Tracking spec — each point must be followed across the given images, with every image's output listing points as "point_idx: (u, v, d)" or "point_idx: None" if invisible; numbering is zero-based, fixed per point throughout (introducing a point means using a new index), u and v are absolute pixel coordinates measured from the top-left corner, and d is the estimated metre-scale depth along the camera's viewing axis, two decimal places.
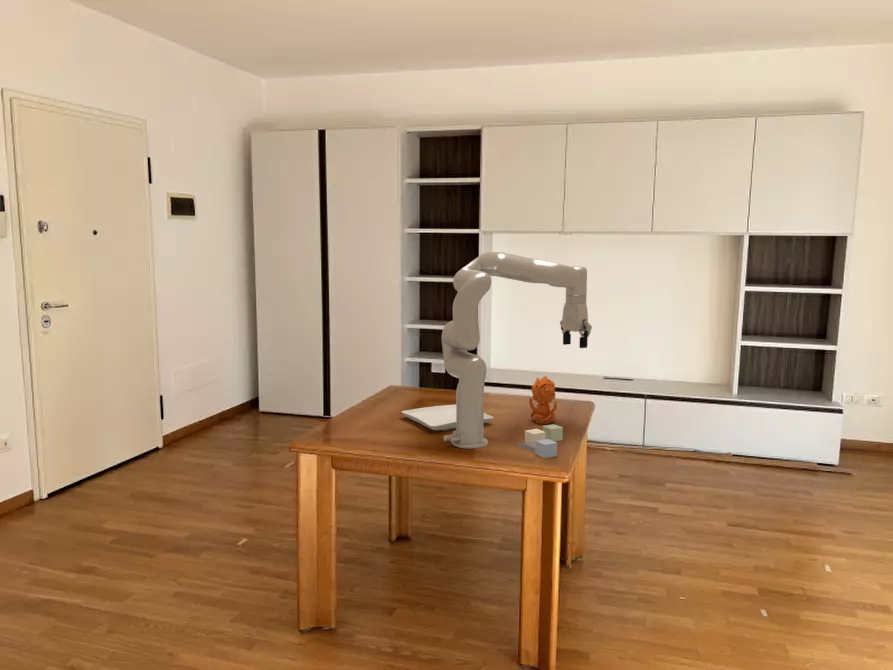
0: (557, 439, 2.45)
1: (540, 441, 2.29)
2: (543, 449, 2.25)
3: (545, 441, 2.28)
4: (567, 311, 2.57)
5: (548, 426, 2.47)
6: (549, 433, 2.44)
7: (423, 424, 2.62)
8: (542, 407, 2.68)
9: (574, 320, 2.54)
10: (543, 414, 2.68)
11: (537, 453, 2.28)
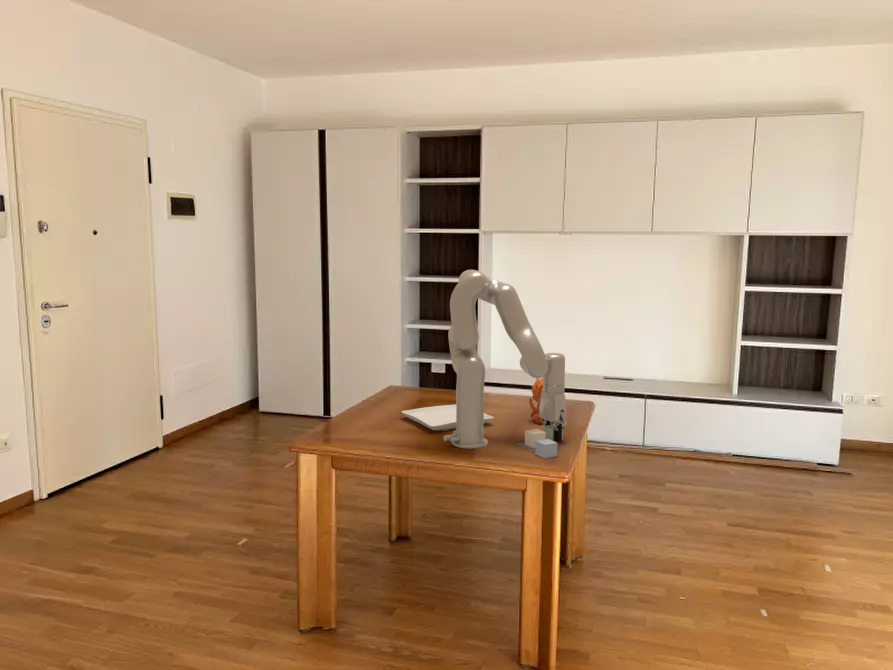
0: None
1: (540, 441, 2.29)
2: (543, 449, 2.25)
3: (545, 441, 2.28)
4: (544, 400, 2.45)
5: (548, 426, 2.47)
6: (549, 433, 2.44)
7: (423, 424, 2.62)
8: None
9: (551, 410, 2.42)
10: None
11: (537, 453, 2.28)
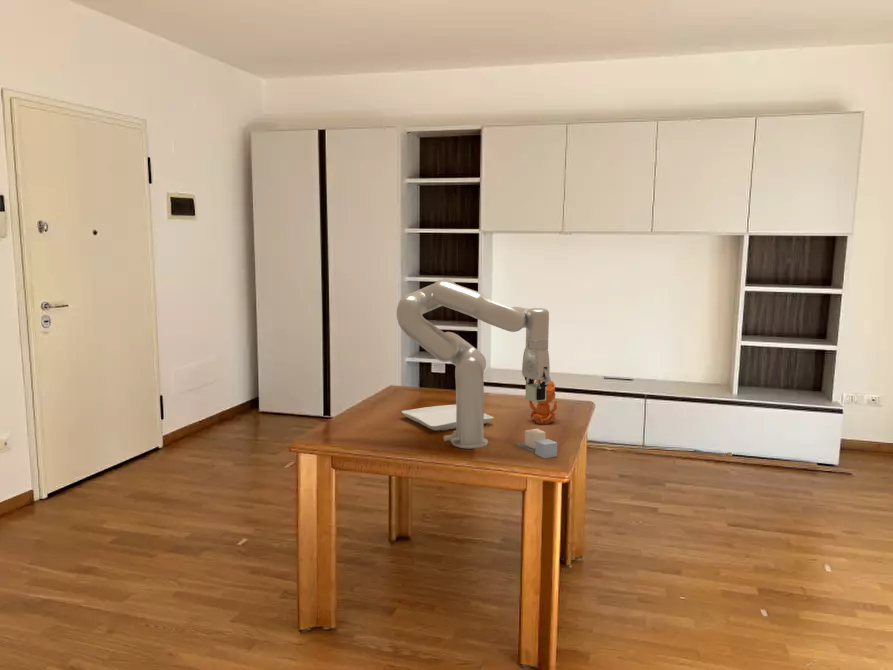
0: None
1: (540, 441, 2.29)
2: (543, 449, 2.25)
3: (545, 441, 2.28)
4: (527, 357, 2.35)
5: (531, 384, 2.37)
6: (532, 392, 2.34)
7: (423, 424, 2.62)
8: (542, 407, 2.68)
9: (534, 367, 2.32)
10: (543, 414, 2.68)
11: (537, 453, 2.28)
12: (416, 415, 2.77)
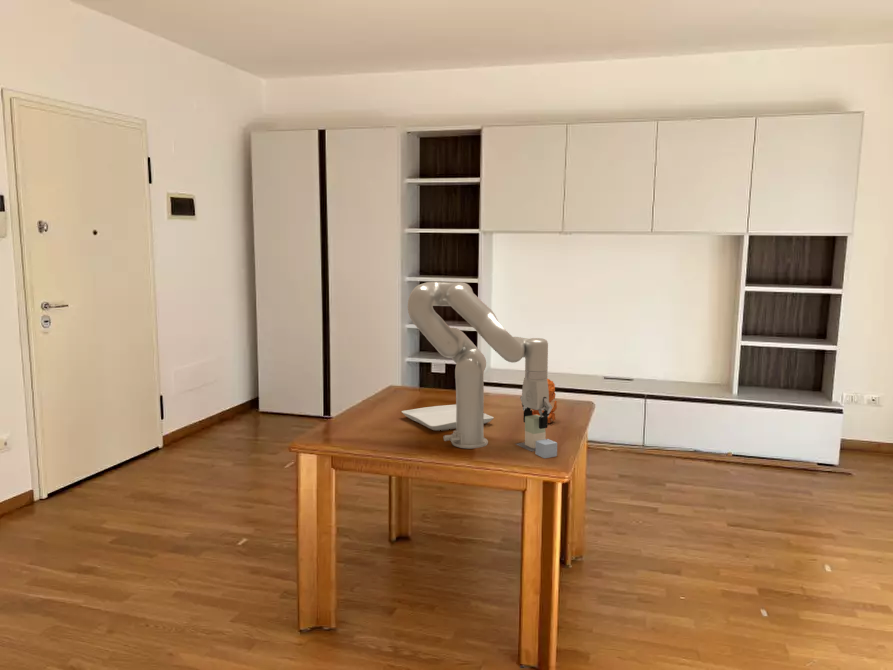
0: (540, 430, 2.36)
1: (540, 441, 2.29)
2: (543, 449, 2.25)
3: (545, 441, 2.28)
4: (527, 387, 2.36)
5: (530, 416, 2.38)
6: (531, 424, 2.35)
7: (423, 424, 2.62)
8: None
9: (534, 398, 2.33)
10: None
11: (537, 453, 2.28)
12: (416, 415, 2.77)
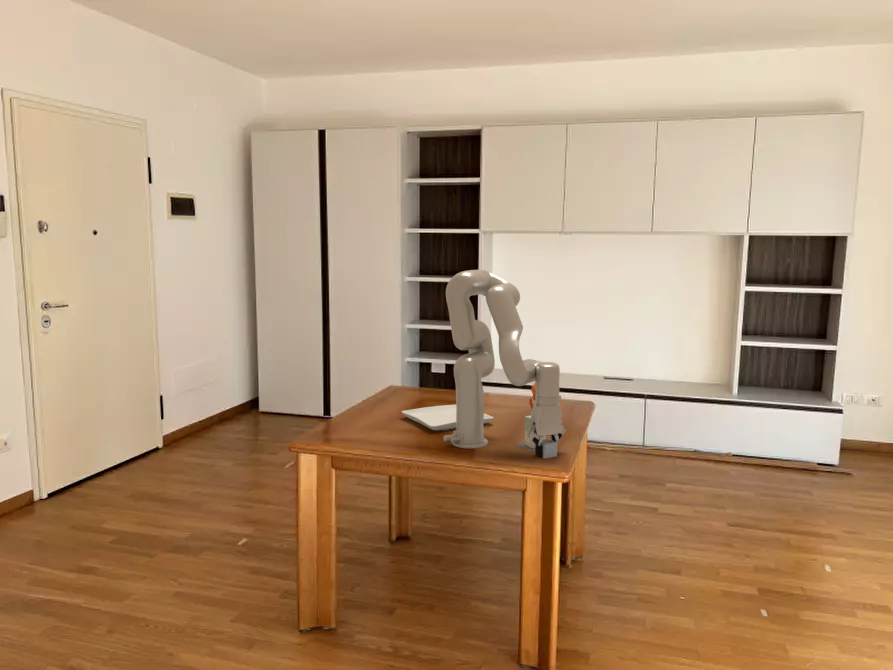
0: None
1: None
2: (543, 449, 2.25)
3: (545, 441, 2.28)
4: None
5: (530, 416, 2.38)
6: None
7: (423, 424, 2.63)
8: None
9: None
10: None
11: None
12: (416, 415, 2.77)
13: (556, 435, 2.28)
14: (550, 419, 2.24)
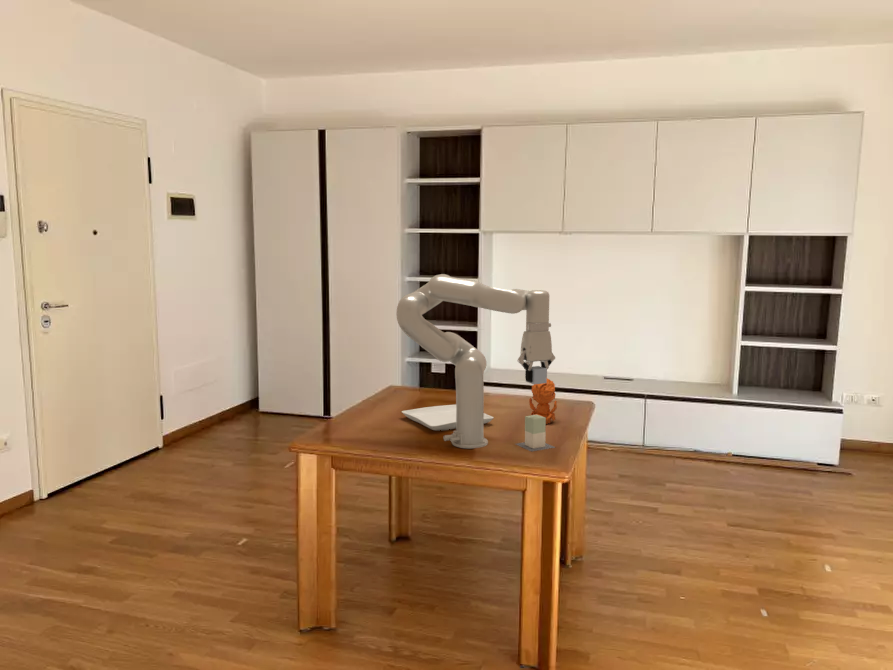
0: (540, 430, 2.36)
1: None
2: (533, 374, 2.32)
3: (535, 367, 2.35)
4: None
5: (530, 416, 2.38)
6: (531, 424, 2.35)
7: (423, 424, 2.63)
8: (542, 407, 2.68)
9: None
10: (543, 414, 2.68)
11: None
12: (416, 415, 2.77)
13: (545, 361, 2.35)
14: (540, 344, 2.32)
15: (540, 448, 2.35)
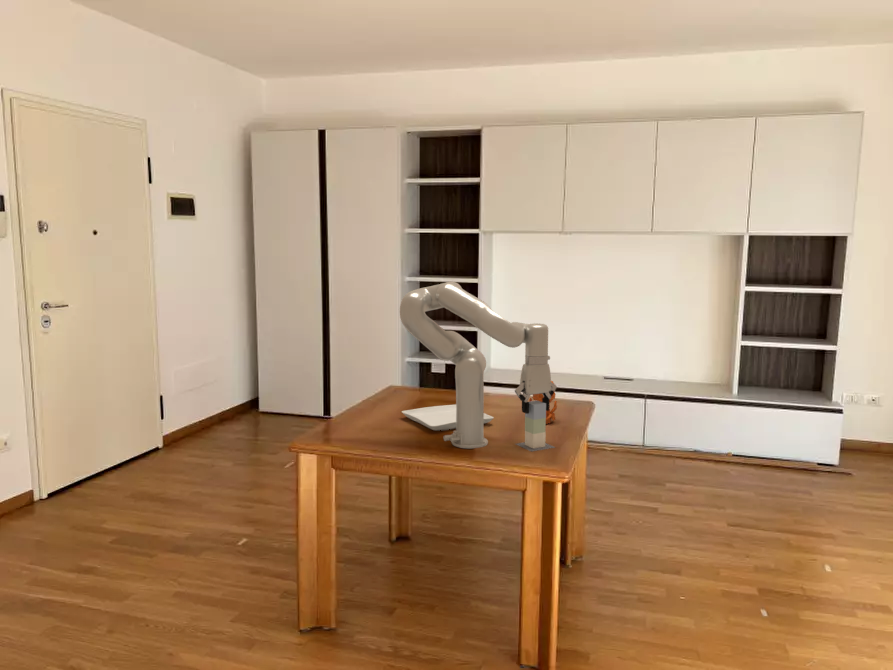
0: (540, 430, 2.36)
1: (529, 402, 2.38)
2: (533, 409, 2.34)
3: (534, 402, 2.37)
4: None
5: None
6: (531, 424, 2.35)
7: (423, 424, 2.63)
8: None
9: None
10: None
11: (527, 414, 2.37)
12: (416, 415, 2.77)
13: (547, 392, 2.37)
14: (539, 378, 2.33)
15: (540, 448, 2.35)
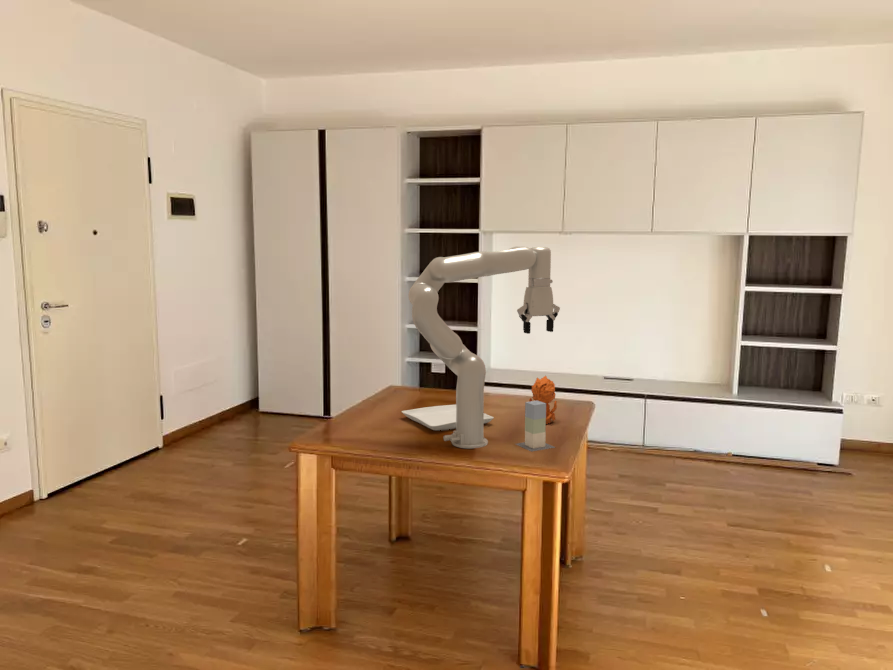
0: (540, 430, 2.36)
1: (529, 402, 2.38)
2: (533, 409, 2.34)
3: (534, 402, 2.37)
4: None
5: None
6: (531, 424, 2.35)
7: (423, 424, 2.63)
8: None
9: None
10: None
11: (527, 414, 2.37)
12: (416, 415, 2.77)
13: (550, 314, 2.43)
14: (542, 299, 2.39)
15: (540, 448, 2.35)
